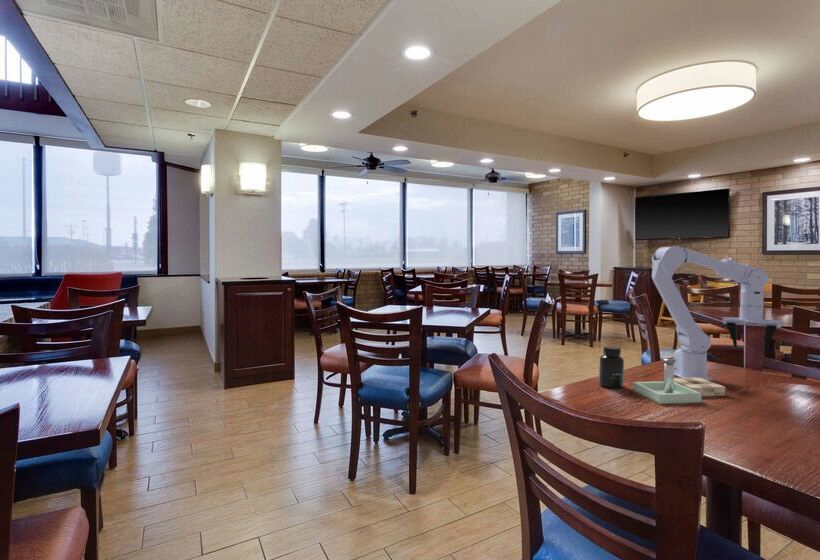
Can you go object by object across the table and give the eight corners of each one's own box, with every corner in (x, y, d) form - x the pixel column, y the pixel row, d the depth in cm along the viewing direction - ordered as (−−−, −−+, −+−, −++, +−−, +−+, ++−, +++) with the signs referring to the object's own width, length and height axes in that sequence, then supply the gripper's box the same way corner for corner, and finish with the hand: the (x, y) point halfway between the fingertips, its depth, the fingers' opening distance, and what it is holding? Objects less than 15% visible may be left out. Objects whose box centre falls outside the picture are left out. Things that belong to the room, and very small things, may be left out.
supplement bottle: (617, 390, 128) (618, 350, 127) (595, 385, 133) (595, 347, 133) (627, 386, 133) (627, 347, 132) (605, 381, 138) (605, 344, 137)
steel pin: (659, 391, 125) (660, 358, 125) (670, 390, 126) (670, 358, 125) (667, 394, 122) (667, 361, 122) (677, 394, 122) (678, 360, 122)
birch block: (668, 386, 132) (668, 378, 132) (699, 385, 133) (699, 377, 133) (691, 396, 122) (691, 387, 122) (725, 395, 123) (725, 386, 123)
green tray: (633, 390, 128) (633, 382, 128) (671, 389, 129) (671, 381, 129) (659, 403, 116) (659, 394, 116) (701, 402, 117) (701, 393, 117)
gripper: (722, 305, 139) (721, 347, 139) (781, 308, 129) (780, 353, 130) (724, 303, 144) (723, 343, 145) (781, 306, 135) (780, 349, 135)
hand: (750, 347), depth 138 cm, fingers open, 7 cm apart
